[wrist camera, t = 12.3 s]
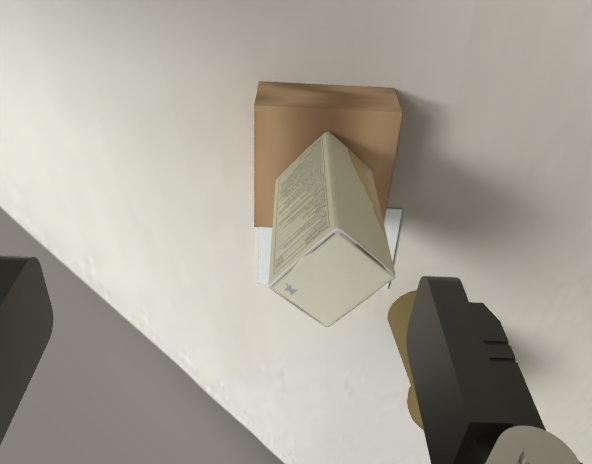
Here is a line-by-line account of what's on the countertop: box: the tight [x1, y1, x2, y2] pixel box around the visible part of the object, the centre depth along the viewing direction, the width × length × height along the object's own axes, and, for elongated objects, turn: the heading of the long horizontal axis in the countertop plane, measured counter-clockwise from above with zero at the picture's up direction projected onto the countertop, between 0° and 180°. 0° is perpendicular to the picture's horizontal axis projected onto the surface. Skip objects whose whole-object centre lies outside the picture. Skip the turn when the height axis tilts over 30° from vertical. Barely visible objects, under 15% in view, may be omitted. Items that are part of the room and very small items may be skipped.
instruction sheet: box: [258, 208, 402, 289], centre depth 45 cm, size 11×8×1 cm
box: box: [268, 132, 395, 327], centre depth 32 cm, size 5×4×11 cm
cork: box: [388, 291, 424, 430], centre depth 45 cm, size 6×6×11 cm
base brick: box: [254, 82, 402, 228], centre depth 38 cm, size 9×9×4 cm
